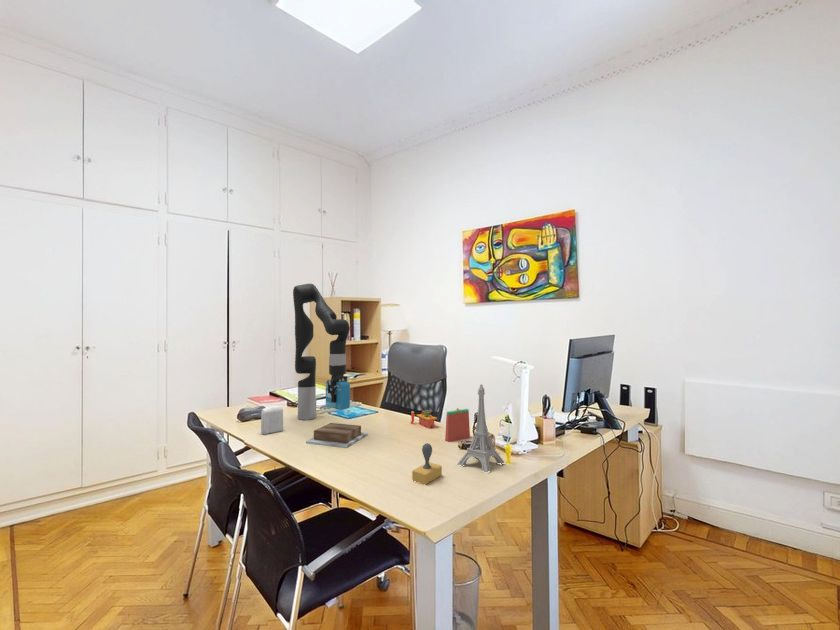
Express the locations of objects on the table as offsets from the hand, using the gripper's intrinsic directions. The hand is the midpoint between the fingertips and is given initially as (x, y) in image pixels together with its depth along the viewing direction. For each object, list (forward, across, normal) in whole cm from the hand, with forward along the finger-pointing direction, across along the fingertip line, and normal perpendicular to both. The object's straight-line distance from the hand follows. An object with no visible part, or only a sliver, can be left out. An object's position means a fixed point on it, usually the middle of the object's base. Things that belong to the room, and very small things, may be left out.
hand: (337, 400), depth 187 cm
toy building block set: (+18, -28, +38) cm, 51 cm away
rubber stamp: (+17, +29, +52) cm, 62 cm away
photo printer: (+17, +1, -35) cm, 39 cm away
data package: (+3, 0, 0) cm, 3 cm away
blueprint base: (+17, 0, 0) cm, 17 cm away
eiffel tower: (+17, +10, +67) cm, 70 cm away
